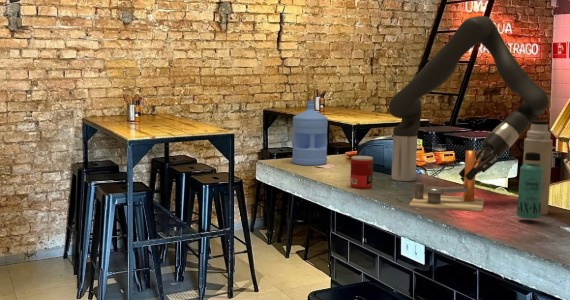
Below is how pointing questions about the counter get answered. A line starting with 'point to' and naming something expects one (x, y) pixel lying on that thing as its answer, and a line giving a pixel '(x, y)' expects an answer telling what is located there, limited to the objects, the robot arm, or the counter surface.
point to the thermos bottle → (541, 144)
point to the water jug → (310, 137)
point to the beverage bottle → (530, 188)
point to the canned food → (361, 172)
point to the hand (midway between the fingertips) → (464, 177)
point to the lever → (468, 184)
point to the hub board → (444, 201)
